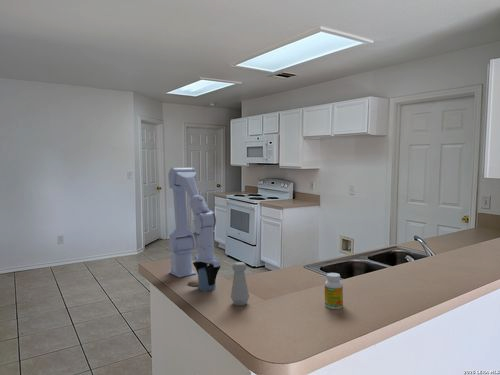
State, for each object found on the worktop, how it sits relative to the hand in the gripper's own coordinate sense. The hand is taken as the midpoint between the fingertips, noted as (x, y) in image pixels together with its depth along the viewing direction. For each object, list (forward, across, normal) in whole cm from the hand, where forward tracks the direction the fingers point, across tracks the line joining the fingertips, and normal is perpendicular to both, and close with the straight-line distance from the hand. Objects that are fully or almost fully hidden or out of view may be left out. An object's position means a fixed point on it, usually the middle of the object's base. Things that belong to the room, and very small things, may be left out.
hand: (207, 282), depth 127 cm
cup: (+2, 0, 0) cm, 2 cm away
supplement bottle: (+2, +41, +20) cm, 46 cm away
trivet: (+2, -7, 0) cm, 7 cm away
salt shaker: (+2, +20, 0) cm, 20 cm away
